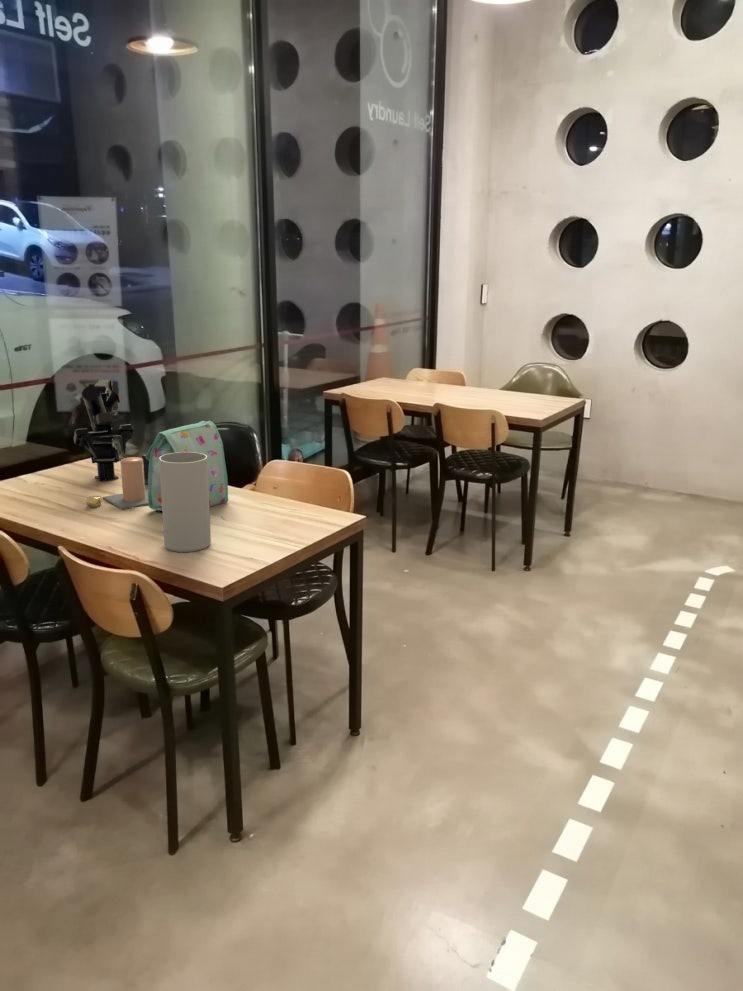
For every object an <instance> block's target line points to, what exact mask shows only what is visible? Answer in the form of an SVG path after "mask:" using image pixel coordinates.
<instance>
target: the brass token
mask: <svg viewBox="0 0 743 991" xmlns="http://www.w3.org/2000/svg"><path fill="white" fill-rule="evenodd" d="M86 500H87V501H86V503H87V508H88V507H89V508H88V509H98V508H97V507H99V508H101V507H102V502H101V496H100V495H91V496H87V497H86ZM100 506H101V507H100Z"/></svg>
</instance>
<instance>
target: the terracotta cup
mask: <svg viewBox="0 0 743 991" xmlns="http://www.w3.org/2000/svg"><path fill="white" fill-rule="evenodd" d="M120 471H121V472H120V473H121V474H120V475H121V484H122V485H121V486H122V494H123V499H124V500H126V501H140V500H143V499H145V498H146V495H145V490H146V484H145V480H144V465H143V459H142V457H136V456H132V457H125V458H121V459H120Z"/></svg>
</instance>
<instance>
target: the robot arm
mask: <svg viewBox="0 0 743 991" xmlns="http://www.w3.org/2000/svg"><path fill="white" fill-rule="evenodd" d="M81 396H82V398H83V401H84V405H85V408H86V411H87V414H88V417H89V420H90V426H91V428H92V431H89V428H87V427H85V428H84V427H83V428H76V429H75V430H74V435H73V442H74V445H76V446H79V447H83V448H84V449H86V451H88V452H89V453H90V458H91V463H92V464H96V467H97V475H95V476H94V479H96V480H98V481H100V482H105V481H111V480H112V481H113V480H118V479H119V476H117V475H116V473H115V464H117V463H119V462H120V454H119V449H118V448H117V446H116V445H115V442H114V439H113V437H118V439H119V442H118V443H119V445H120V448H121V452H122V454H123V455H126V449H127V448H126V447H127V443H128V442H129V440H131V439H132V437H133V435H134V431H135V429H134V426H133V425H132V424H131V423H129V424H119V427H118V429H113V428H114V422H117V421H118V420H119V419H120V417H119V412H118V409H119V408H120V406H119V405H120V403H121V401H122V396H121V391H120V387H119V386H117V385H116V384H114V382H113V379H110V378H99V379H97V382H96V383H88V384H87V385H86V387H85V388H84V389H83V390H82V392H81Z"/></svg>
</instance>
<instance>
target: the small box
mask: <svg viewBox="0 0 743 991" xmlns="http://www.w3.org/2000/svg"><path fill="white" fill-rule="evenodd" d="M147 453H148V452H146V453H144V454H142V455H141V458H142V459H143V465H144V480H145V485H148V472H149V461H148V460H146V455H147Z"/></svg>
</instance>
